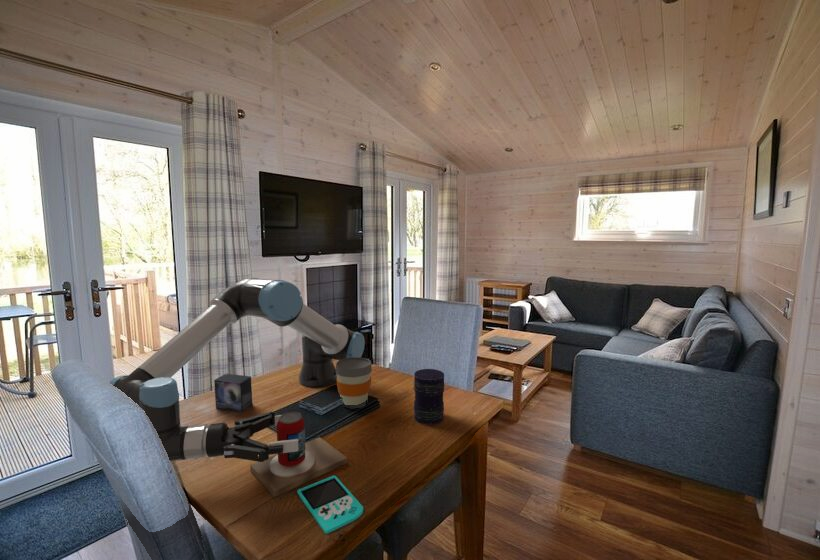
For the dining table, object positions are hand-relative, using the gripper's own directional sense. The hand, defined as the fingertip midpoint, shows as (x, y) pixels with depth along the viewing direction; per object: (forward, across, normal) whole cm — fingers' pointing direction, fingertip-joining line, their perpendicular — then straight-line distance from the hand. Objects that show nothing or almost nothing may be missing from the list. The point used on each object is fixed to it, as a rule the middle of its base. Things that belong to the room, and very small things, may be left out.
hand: (299, 430), depth 101 cm
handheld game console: (+7, +14, -11) cm, 20 cm away
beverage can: (-2, 0, -8) cm, 9 cm away
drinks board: (0, -1, -10) cm, 11 cm away
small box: (-24, -42, -11) cm, 49 cm away
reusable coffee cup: (+17, -35, -11) cm, 41 cm away
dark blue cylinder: (+40, -20, -11) cm, 46 cm away
